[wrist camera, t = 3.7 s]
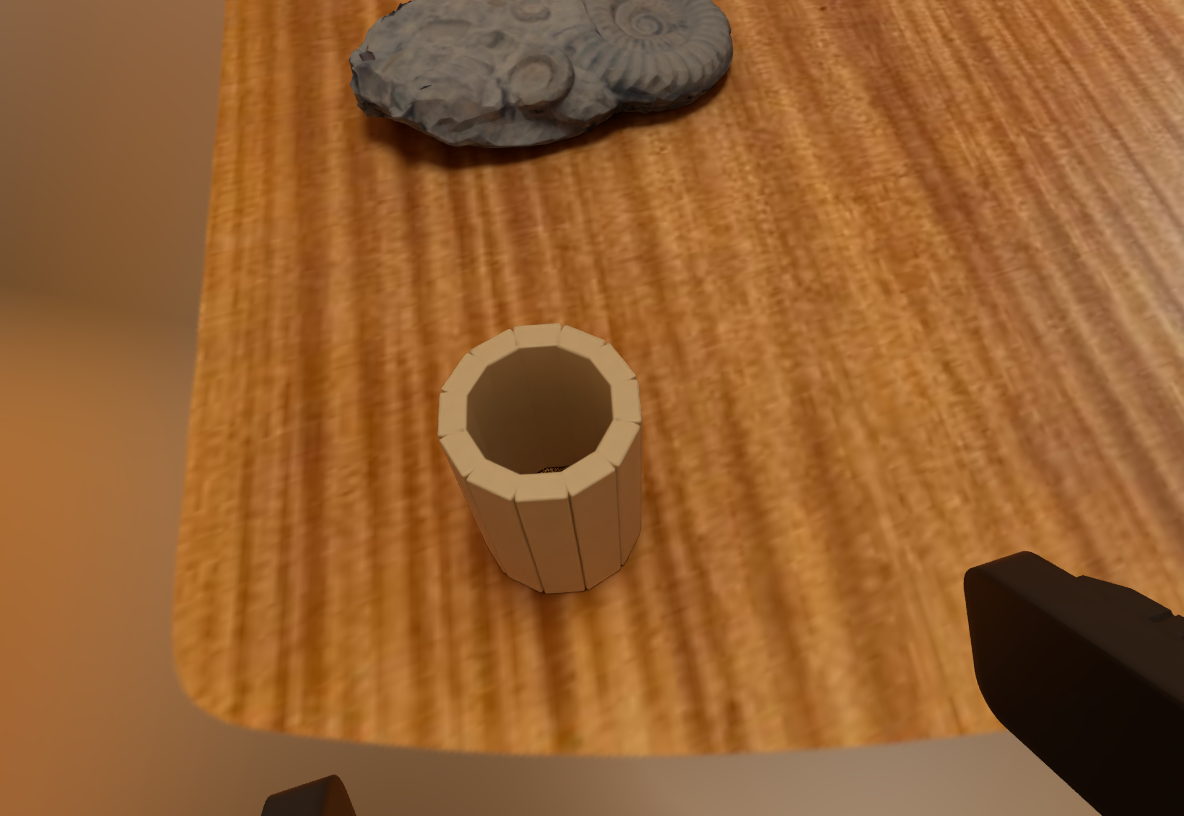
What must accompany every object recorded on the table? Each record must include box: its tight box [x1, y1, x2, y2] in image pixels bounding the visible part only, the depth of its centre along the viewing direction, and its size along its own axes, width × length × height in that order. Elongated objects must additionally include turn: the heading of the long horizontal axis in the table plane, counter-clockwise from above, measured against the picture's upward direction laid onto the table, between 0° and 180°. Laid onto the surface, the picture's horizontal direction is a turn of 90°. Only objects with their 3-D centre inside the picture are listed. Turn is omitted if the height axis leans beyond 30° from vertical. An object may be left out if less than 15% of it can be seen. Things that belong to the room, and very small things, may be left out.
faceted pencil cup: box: [438, 323, 642, 593], centre depth 26 cm, size 6×6×8 cm
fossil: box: [349, 0, 733, 148], centre depth 39 cm, size 13×18×4 cm
